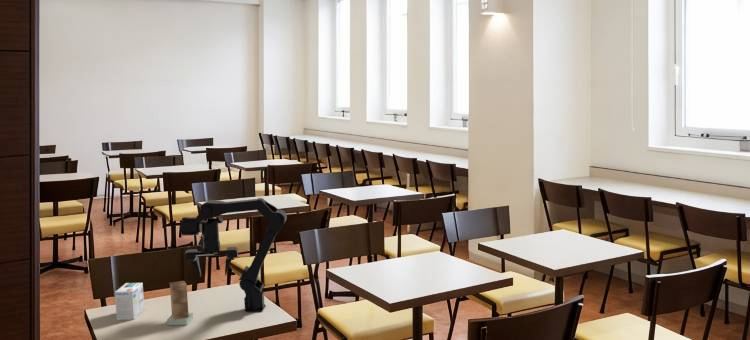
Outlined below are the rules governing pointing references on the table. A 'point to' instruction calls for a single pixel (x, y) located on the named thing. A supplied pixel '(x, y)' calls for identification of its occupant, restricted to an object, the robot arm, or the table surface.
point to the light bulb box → (129, 301)
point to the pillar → (179, 299)
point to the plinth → (179, 320)
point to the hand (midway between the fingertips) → (213, 276)
